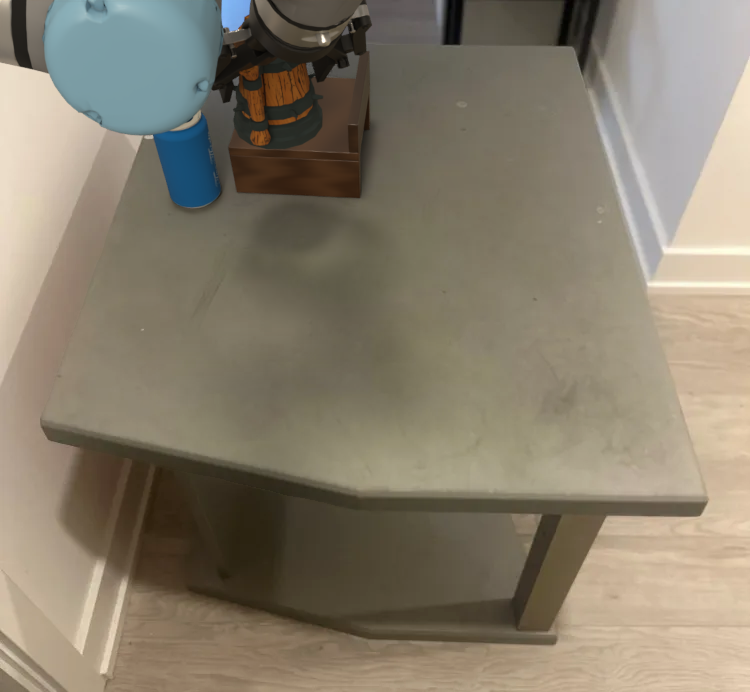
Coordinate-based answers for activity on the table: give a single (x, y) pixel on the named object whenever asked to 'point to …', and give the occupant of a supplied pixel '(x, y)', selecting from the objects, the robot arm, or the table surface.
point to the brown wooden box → (314, 146)
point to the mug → (277, 105)
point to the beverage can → (189, 163)
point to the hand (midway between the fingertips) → (270, 79)
